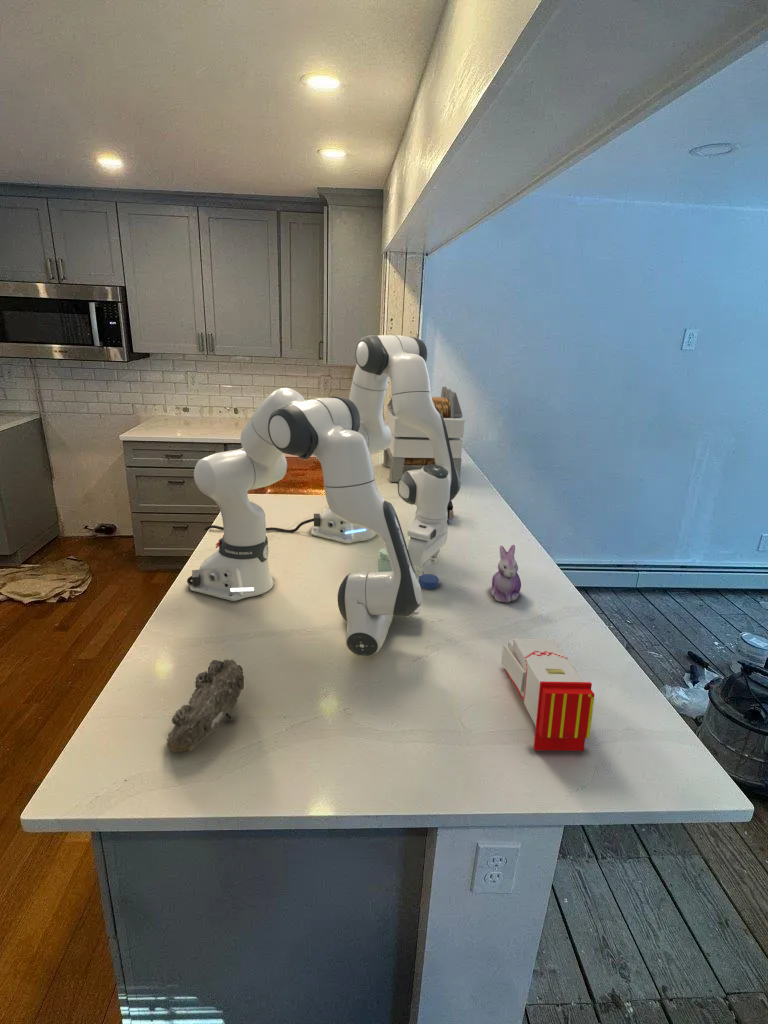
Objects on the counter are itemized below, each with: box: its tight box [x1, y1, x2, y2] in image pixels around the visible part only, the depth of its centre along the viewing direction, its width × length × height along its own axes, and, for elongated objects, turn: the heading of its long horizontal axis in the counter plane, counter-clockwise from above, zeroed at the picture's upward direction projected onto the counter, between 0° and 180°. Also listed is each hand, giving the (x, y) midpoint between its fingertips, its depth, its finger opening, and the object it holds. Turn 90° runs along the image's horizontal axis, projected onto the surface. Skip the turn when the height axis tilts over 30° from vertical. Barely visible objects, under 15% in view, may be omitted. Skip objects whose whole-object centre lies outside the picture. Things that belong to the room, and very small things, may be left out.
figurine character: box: [447, 500, 454, 524], centre depth 215 cm, size 7×8×15 cm
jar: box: [376, 547, 393, 572], centre depth 150 cm, size 5×5×15 cm
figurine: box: [490, 544, 522, 603], centre depth 157 cm, size 9×10×15 cm
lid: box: [418, 573, 440, 590], centre depth 164 cm, size 6×6×2 cm
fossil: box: [166, 658, 245, 754], centre depth 106 cm, size 22×10×15 cm
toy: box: [500, 637, 595, 752], centre depth 114 cm, size 12×13×30 cm
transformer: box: [383, 386, 465, 483], centre depth 268 cm, size 34×33×41 cm
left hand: (386, 585), depth 151 cm, fingers closed on jar, 5 cm apart
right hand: (426, 568), depth 162 cm, fingers open, 8 cm apart
